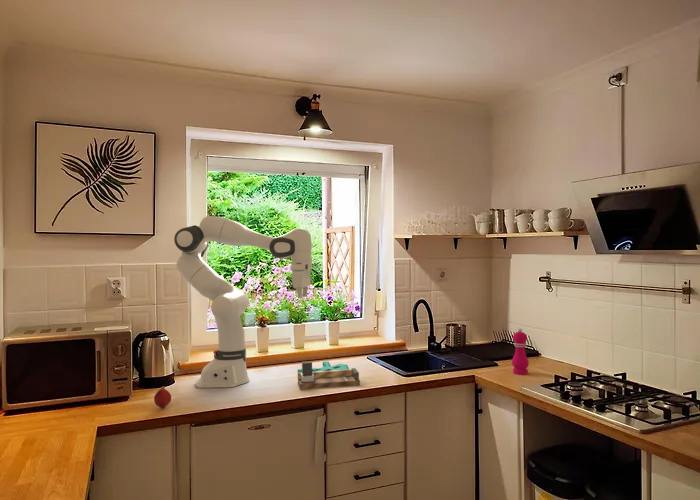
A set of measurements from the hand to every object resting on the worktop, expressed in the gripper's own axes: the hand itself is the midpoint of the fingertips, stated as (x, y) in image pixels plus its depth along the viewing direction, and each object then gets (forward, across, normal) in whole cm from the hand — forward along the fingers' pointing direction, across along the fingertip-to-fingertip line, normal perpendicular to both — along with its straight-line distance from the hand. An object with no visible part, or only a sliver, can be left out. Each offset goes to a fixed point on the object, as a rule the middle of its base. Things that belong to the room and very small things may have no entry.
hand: (302, 297), depth 226 cm
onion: (+37, +42, -44) cm, 71 cm away
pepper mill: (+37, -18, +94) cm, 103 cm away
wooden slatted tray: (+36, +5, +12) cm, 38 cm away
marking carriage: (+34, +8, +3) cm, 35 cm away
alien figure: (+36, -15, +8) cm, 40 cm away
